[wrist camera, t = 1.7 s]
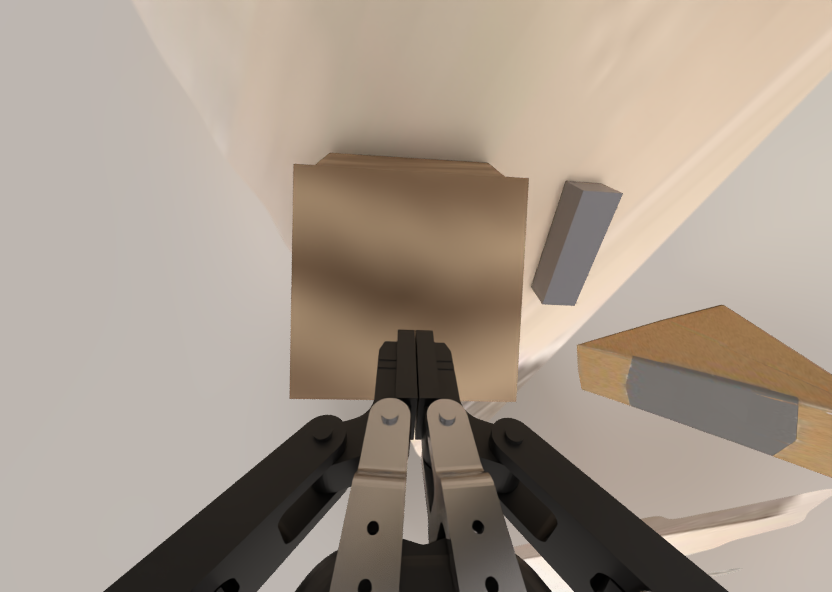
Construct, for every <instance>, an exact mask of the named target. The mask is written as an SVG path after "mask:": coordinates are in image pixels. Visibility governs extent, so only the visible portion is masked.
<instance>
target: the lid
mask: <svg viewBox="0 0 832 592" xmlns="http://www.w3.org/2000/svg"><path fill="white" fill-rule="evenodd" d="M528 183H529V178H514V177H498V176H482V175H466V174H449V173H433V172H417V171H400V170H384V169H368V168H351V167H335V166H319V165H302V164H294V171H293V229H292V288H291V347H290V348H291V350H290V399H346V400H374V395H375V385H376V375H377V365H378V355H379V349H380V347H381V346H382V345H383V343H384V342H385V341H397V335H398V329H401V330H415V331H416V330H433V336H434V342H438V343H445V344H446V345H447V346H448V348H449V349H450V350H451V354H452V359H453V364H454V371H455V375H456V381H457V386H458V391H459V397H460V401H497V402H516V394H517V377H518V359H519V341H520V324H521V306H522V288H523V271H524V253H525V235H526V218H527V200H528Z"/></svg>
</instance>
